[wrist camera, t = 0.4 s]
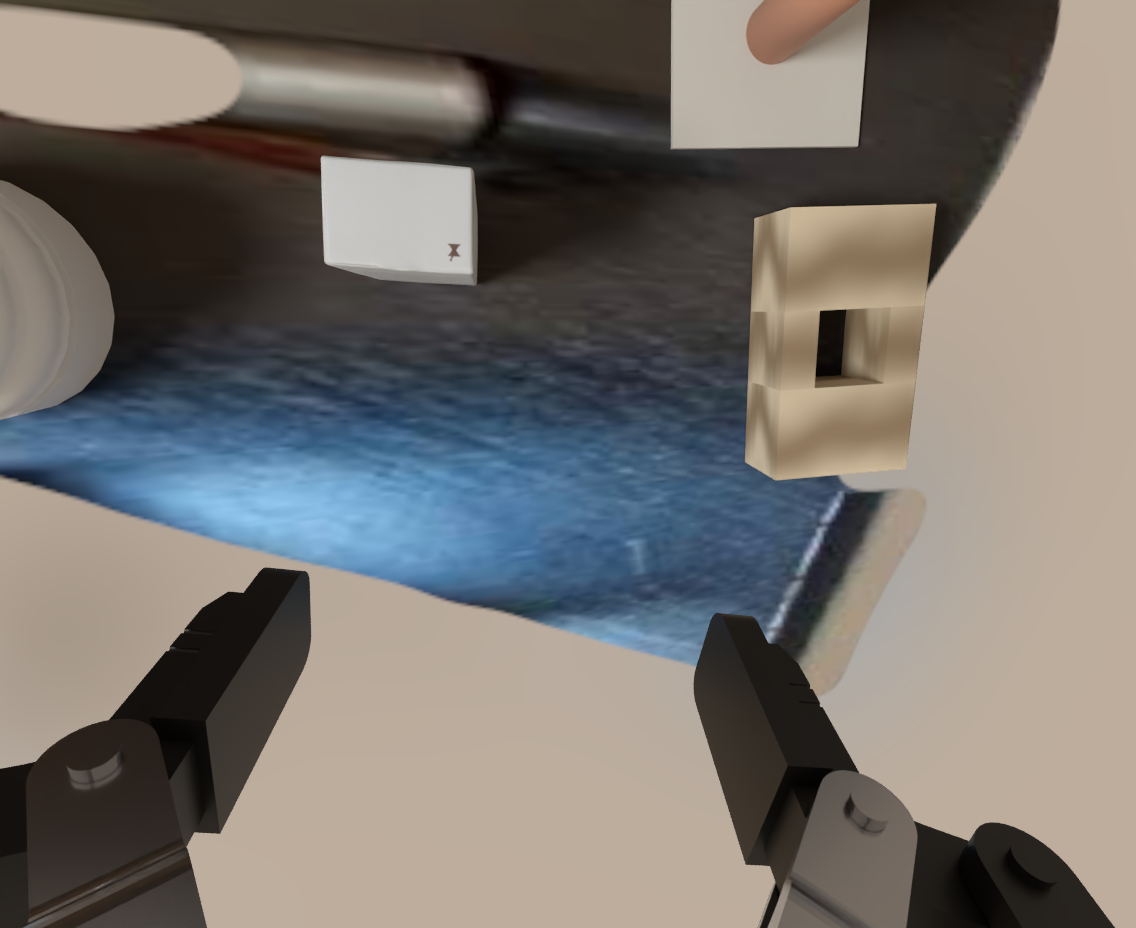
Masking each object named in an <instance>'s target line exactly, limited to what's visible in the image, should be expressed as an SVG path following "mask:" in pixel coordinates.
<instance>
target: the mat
mask: <svg viewBox="0 0 1136 928" xmlns="http://www.w3.org/2000/svg"><path fill="white" fill-rule="evenodd" d="M763 1H764V0H671V150H673V149H761V148H850V147H857V146H858V141H859V128H860V116H861V104H862V91H863V79H864V67H865V54H866V42H867V30H868V17H869V5H870V0H860V1H859V2H857V3H856V4H855V5H854V6H852V7H851V8H850V9H849V10H847V11H846V12H845V13H843V14H842V15H841V16H840V17H838V18H837V19H836V20H835V21H833V22H832V23H831V24H830V25H828V26H827V27H826V28H825V29H823V30H822V31H821V32H819V33H818V34H817V35H816V36H814V37H813V38H812V39H811V40H809V41H808V42H807V43H806V44H804V45H803V46H802V47H801V48H799V49H798V50H797V51H795V52H794V53H793V54H792V55H790V56H789V57H788V58H787V59H785V60H784V61H782V62H781V63H778V64H774V65H768V64H764V63H762V62H760V61H758V60H757V59H756V58H755V57H754V56H753V55H752V53H751V52H750V50H749V47H748V44H747V39H746V29H747V24H748V21H749V19H750V16H751V15H752V13H753V12H754V10H755V9H756V8H757V7H758V6H759V5H760V4H761V3H762V2H763Z"/></svg>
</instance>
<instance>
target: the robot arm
mask: <svg viewBox="0 0 1136 928" xmlns="http://www.w3.org/2000/svg"><path fill="white" fill-rule="evenodd" d="M310 642H311V618H310V582H309V576H308V573H307V572H306V571H295V570H286V569H276V568H263V569H262V570H261V571H260V572H259V573H258V575H257V576H256V577H255V578H254V580H253V581H252V582H251V584H250V585H249V586H248V588H247V589H246V590H245V592H244V593H238V592H227V593H226V594H224V595H222V596H221V597H219V598H218V599H216V600H214V601H213V602H211V603H210V604H208V605H206V606H205V607H203V608H202V609H201V610H200V611H199V612H198V614H197V615H196V616H195V617H194V619H193V620H192V621H191V622H190V623H189V625H188V626H187V627H186V628H185V631H184V633H181V634H180V635H179V637H178V638H177V639H176V640H175V641H174V642H173V644H172V645H171V646H170V650H169V651H166V652H165V653H164V655H163V656H162V657H161V658H160V659H159V661H158V662H157V663H156V664H155V665H154V667H153V668H152V669H151V670H150V672H149V673H148V674H147V675H146V676H145V677H144V679H143V680H142V681H141V682H140V683H139V685H138V686H137V687H136V688H135V690H134V691H133V692H132V693H131V694H130V695H129V697H128V698H127V699H126V701H125V702H124V703H123V704H122V705H121V706H120V707H119V709H118V710H117V711H116V712H115V714H114V715H113V716H112V717H111V718H110V719H109V720H107V721H102V722H99V723H95V724H92V725H89V726H86V727H84V728H81V729H79V730H77V731H75V732H73V733H71V734H69V735H67V736H66V737H64V738H62V739H61V740H59V741H58V742H56V743H55V744H54V745H52V746H51V747H50V748H49V749H48V750H46V751H45V752H44V753H43V754H42V755H41V756H40V758H39V759H38V760H37V761H36V762H33V763H28V764H24V765H19V766H13V767H8V768H3V769H0V928H207V926H206V922H205V918H204V914H203V909H202V905H201V901H200V897H199V893H198V889H197V885H196V881H195V877H194V872H193V868H192V864H191V860H190V857H189V853H188V850H187V848H186V846H187V845H188V843H189V841H190V839H191V837H192V835H193V834H194V832H199V833H217V834H218V833H219V834H220V833H221V831H222V829H223V827H224V825H225V823H226V821H227V819H228V817H229V815H230V813H231V811H232V809H233V807H234V805H235V803H236V801H237V799H238V797H239V795H240V793H241V791H242V789H243V787H244V785H245V783H246V781H247V779H248V777H249V775H250V773H251V772H252V770H253V767H254V766H255V763H256V762H257V760H258V758H259V756H260V753H261V752H262V750H263V748H264V746H265V744H266V742H267V740H268V738H269V736H270V734H271V732H272V730H273V728H274V726H275V724H276V722H277V720H278V718H279V716H280V714H281V712H282V710H283V708H284V706H285V704H286V702H287V700H288V698H289V696H290V695H291V693H292V691H293V689H294V687H295V685H296V683H297V681H298V679H299V677H300V675H301V673H302V671H303V669H304V666H305V664H306V661H307V657H308V653H309V648H310ZM694 696H695V702H696V705H697V709H698V712H699V715H700V719H701V722H702V725H703V728H704V731H705V735H706V738H707V741H708V744H709V748H710V751H711V754H712V757H713V761H714V764H715V767H716V770H717V773H718V777H719V780H720V783H721V786H722V789H723V793H724V796H725V799H726V802H727V805H728V809H729V812H730V815H731V818H732V822H733V825H734V828H735V831H736V835H737V838H738V841H739V844H740V847H741V851H742V854H743V857H744V860H745V863H746V865H764V866H770V867H771V870H772V873H773V876H774V879H775V883H774V885H773V888H772V890H771V892H770V894H769V897H768V900H767V903H766V906H765V908H764V911H763V914H762V917H761V920H760V922H759V925H758V928H1115V927H1114V926H1113V925H1112V923H1111V922H1110V921H1109V920H1108V918H1107V917H1106V915H1105V914H1104V913H1103V911H1102V910H1101V909H1100V907H1099V906H1098V905H1097V903H1096V902H1095V900H1094V899H1093V898H1092V897H1091V895H1090V894H1089V892H1088V891H1087V890H1086V888H1085V887H1084V886H1083V885H1082V883H1081V882H1080V880H1079V879H1078V878H1077V876H1076V875H1075V874H1074V873H1073V871H1072V870H1071V869H1070V868H1069V867H1068V865H1067V864H1066V863H1065V862H1064V861H1063V860H1062V859H1061V858H1060V857H1059V856H1057V854H1055V853H1054V852H1053V851H1052V850H1051V849H1050V848H1048V847H1047V846H1046V845H1044V844H1043V843H1042V842H1040V841H1039V840H1037V839H1036V838H1034V837H1033V836H1031V835H1029V834H1027V833H1025V832H1024V831H1022V830H1019V829H1017V828H1015V827H1012V826H1009V825H1006V824H1000V823H985V824H983V825H981V826H979V827H978V829H977V830H976V831H975V833H974V834H973V836H972V838H971V839H970V840H969V841H967V840H964V839H962V838H959V837H956V836H953V835H950V834H948V833H945V832H942V831H939V830H936V829H934V828H931V827H928V826H925V825H923V824H920V823H917V822H915V821H913V818H912V817H911V815H910V813H909V811H908V810H907V809H906V807H905V806H904V805H903V803H902V802H901V801H900V800H899V799H898V798H897V797H896V796H895V795H894V794H893V793H892V792H891V791H889V790H888V789H887V788H886V787H884V786H883V785H882V784H880V783H878V782H877V781H875V780H873V779H871V778H869V777H867V776H865V775H862V774H860V773H859V772H858V770H857V768H856V766H855V765H854V763H853V761H852V759H851V757H850V755H849V754H848V752H847V750H846V748H845V747H844V745H843V743H842V741H841V739H840V738H839V736H838V734H837V732H836V730H835V729H834V727H833V725H832V723H831V722H830V720H829V718H828V716H827V715H826V713H825V711H824V709H823V708H822V707H820V702H819V700H818V698H817V696H816V695H815V693H814V691H813V689H810V684H809V682H808V680H807V679H806V677H805V675H804V673H803V671H802V670H801V668H800V666H799V664H798V663H797V662H796V661H795V660H794V659H793V658H792V657H791V656H790V655H789V654H788V653H787V652H785V651H784V650H783V649H782V648H781V647H780V646H779V645H778V644H769V643H768V642H767V640H766V638H765V636H764V634H763V632H762V630H761V628H760V626H759V624H758V622H757V621H756V619H755V618H754V617H752V616H743V615H732V614H722V613H716V614H714V616H713V617H712V619H711V621H710V624H709V628H708V631H707V634H706V637H705V641H704V644H703V647H702V650H701V654H700V657H699V660H698V663H697V667H696V670H695V675H694Z"/></svg>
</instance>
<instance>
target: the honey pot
mask: <svg viewBox="0 0 1136 928" xmlns="http://www.w3.org/2000/svg"><path fill="white" fill-rule="evenodd" d="M114 318H115V315H114V310H113V304H112V298H111V293H110V287H109V284H108V282H107V279H106V277H105V275H104V273H103V271H102V268H101V266H100V264H99V262H98V260H97V258H96V255H95V254H94V252H93V251H92V250H91V249H90V247H89V246H88V245H87V243H86V242H85V241H84V239H83V238H82V237H81V236H80V234H79V233H78V232H77V230H76V229H75V228H74V227H73V225H71V224H70V223H69V222H68V221H67V220H66V219H64V218H63V217H62V216H61V215H60V214H58V213H57V212H56V211H55V210H54V209H52V208H51V207H50V206H49V205H48V204H47V203H45V202H44V201H43V200H41V199H39V198H37V197H35V196H33V195H31V194H30V193H28V192H26V191H24V190H22V189H20V188H18V187H16V186H15V185H13V184H11V183H9V182H5V181H2V180H0V420H1V419H5V418H9V417H13V416H17V415H21V414H25V413H29V412H33V411H37V410H41V409H45V408H49V407H53V406H57V405H58V404H60V403H62V402H63V401H65V400H67V399H69V398H70V397H72V396H74V395H76V394H77V393H79V392H81V391H82V390H83V389H84V388H85V387H86V385H87V384H88V383H89V382H90V381H91V380H92V379H93V378H94V377H95V376H96V375H97V373H98V372H99V371H100V370H101V367H102V365H103V363H104V361H105V359H106V356H107V354H108V352H109V350H110V347H111V345H112V336H113V327H114Z"/></svg>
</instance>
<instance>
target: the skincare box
mask: <svg viewBox="0 0 1136 928" xmlns="http://www.w3.org/2000/svg"><path fill="white" fill-rule="evenodd" d="M321 179H322V210H323V240H324V262H325V263H326V264H327V265H330V266H334V267H337V268H341V269H344V270H347V271H351V272H354V273H358V274H362V275H366V276H369V277H372V278H376V279H379V280H392V281H406V282H422V283H440V284H461V285H476V284H477V262H478V215H477V202H476V192H475V181H474V172H473V170H472V168H469V167H459V166H449V165H440V164H429V163H417V162H399V161H382V160H370V159H357V158H344V157H331V156H322V157H321Z"/></svg>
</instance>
